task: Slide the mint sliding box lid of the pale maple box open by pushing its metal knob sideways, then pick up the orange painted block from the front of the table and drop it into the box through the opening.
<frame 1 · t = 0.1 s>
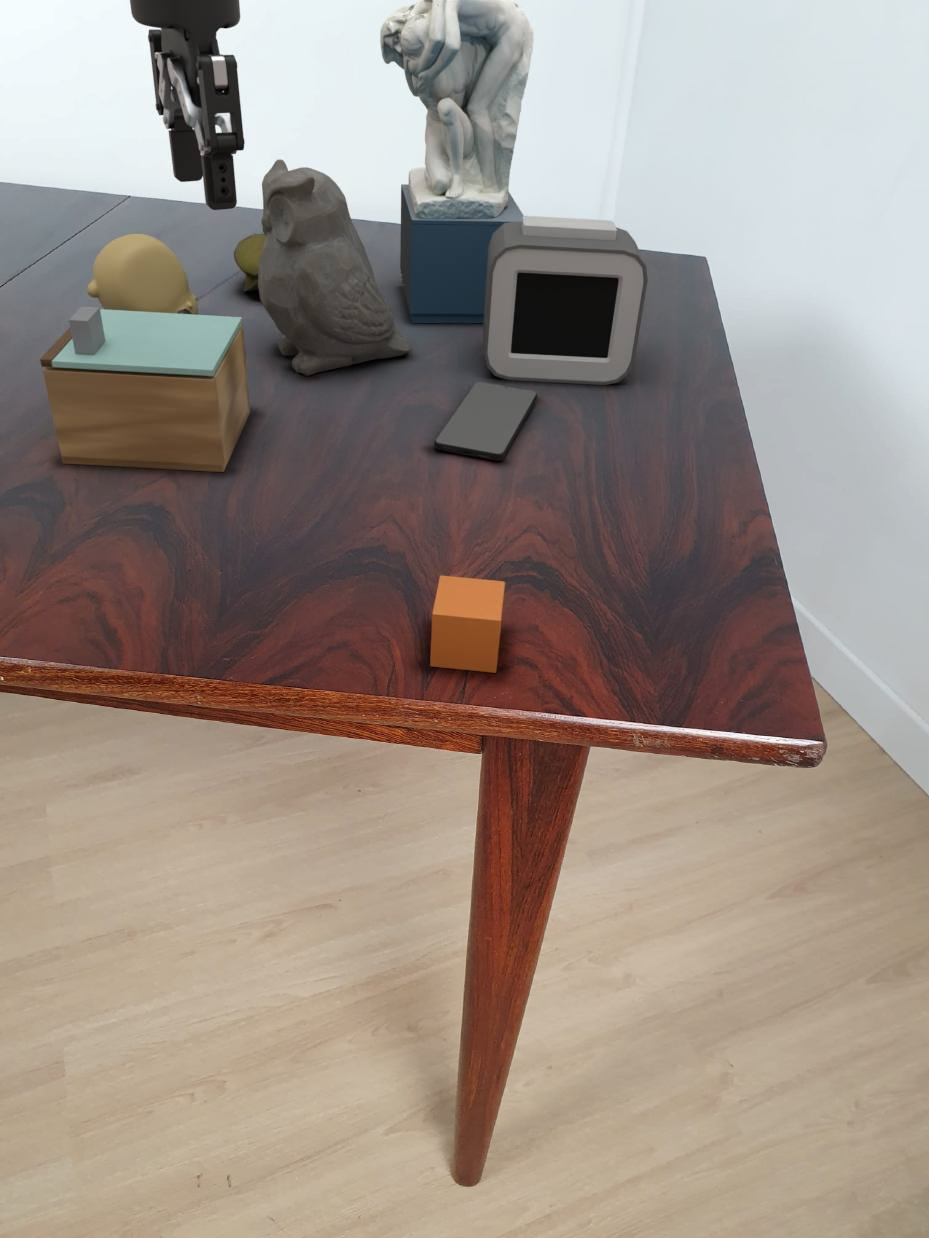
hand: (204, 194, 77), 23 cm above the table, tool pointing down, fingers open, 8 cm apart
figurine: (336, 356, 110), on the table
toy pig: (150, 331, 114), on the table
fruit: (271, 288, 127), on the table
sculpture: (446, 303, 126), on the table
smartphone: (487, 425, 98), on the table
block: (466, 649, 70), on the table
alarm clock: (552, 363, 112), on the table
maple box: (161, 436, 93), on the table
mint sliding box lid: (144, 324, 86), point 11 cm above the table, slide at 0.0 cm
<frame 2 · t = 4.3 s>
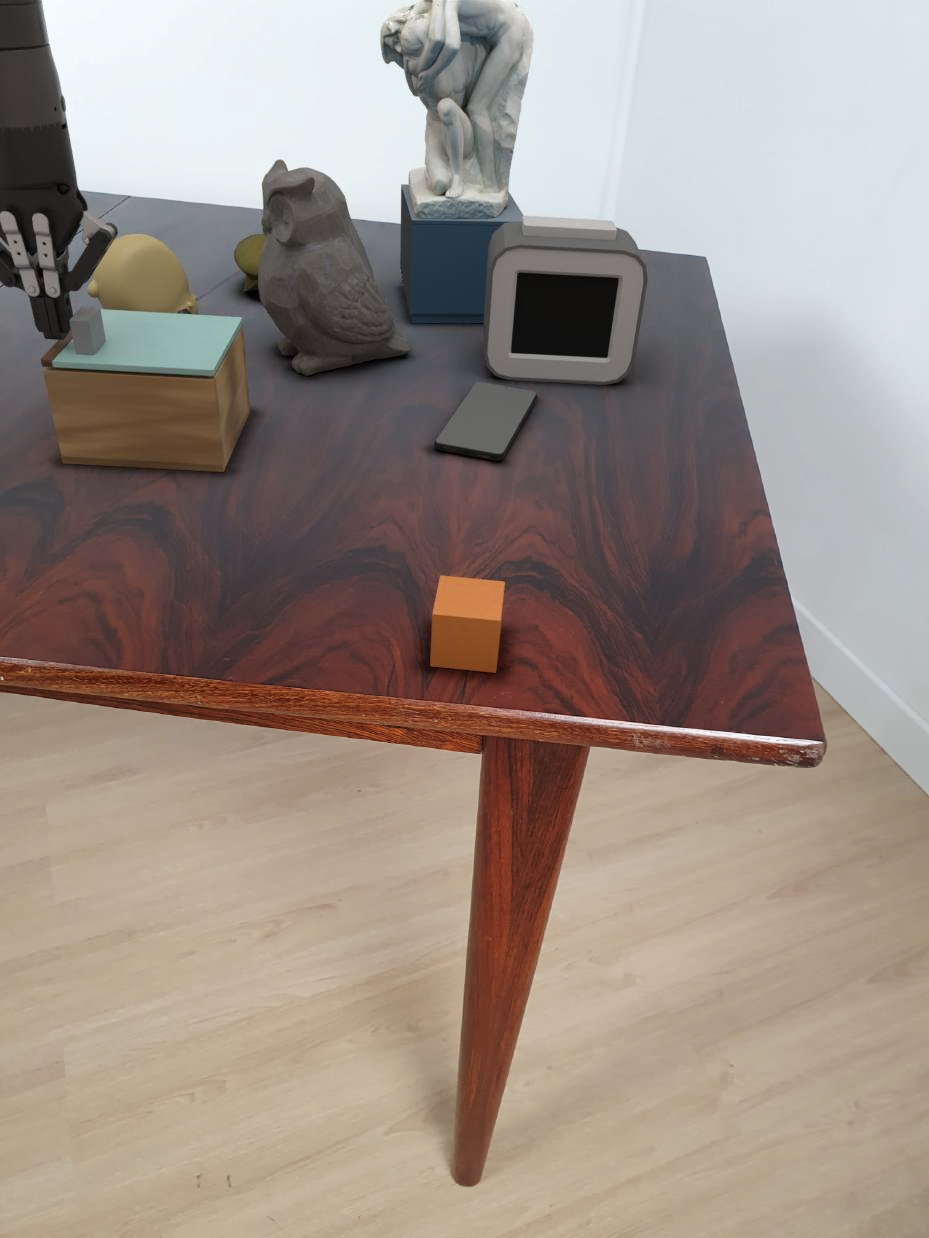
hand: (58, 336, 84), 11 cm above the table, tool pointing down, fingers closed
mint sliding box lid: (145, 324, 86), point 11 cm above the table, slide at 0.1 cm, touching gripper
everything else where it was.
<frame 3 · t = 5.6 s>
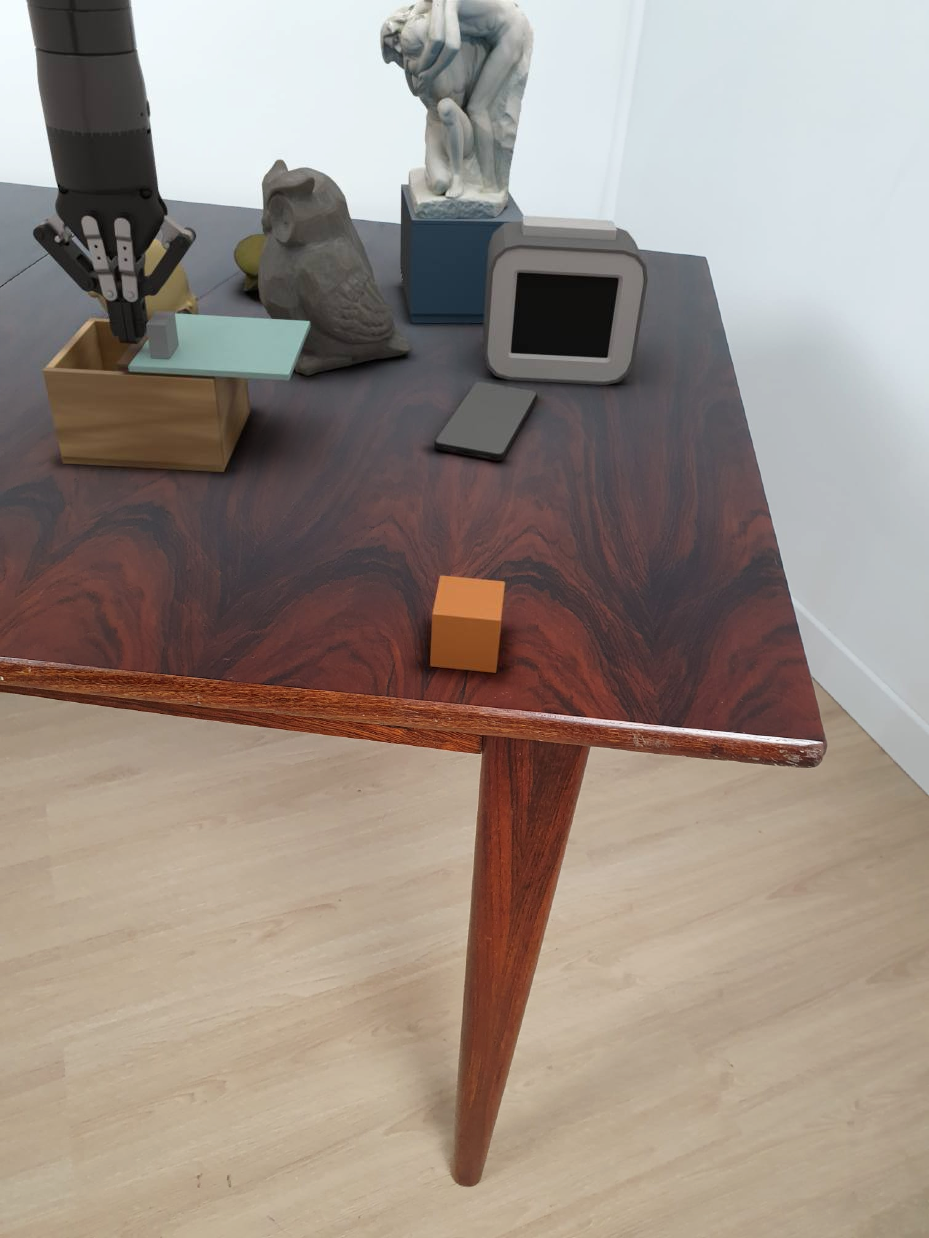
hand: (132, 340, 84), 11 cm above the table, tool pointing down, fingers closed
mint sliding box lid: (217, 328, 86), point 11 cm above the table, slide at 6.4 cm, touching gripper
everything else where it was.
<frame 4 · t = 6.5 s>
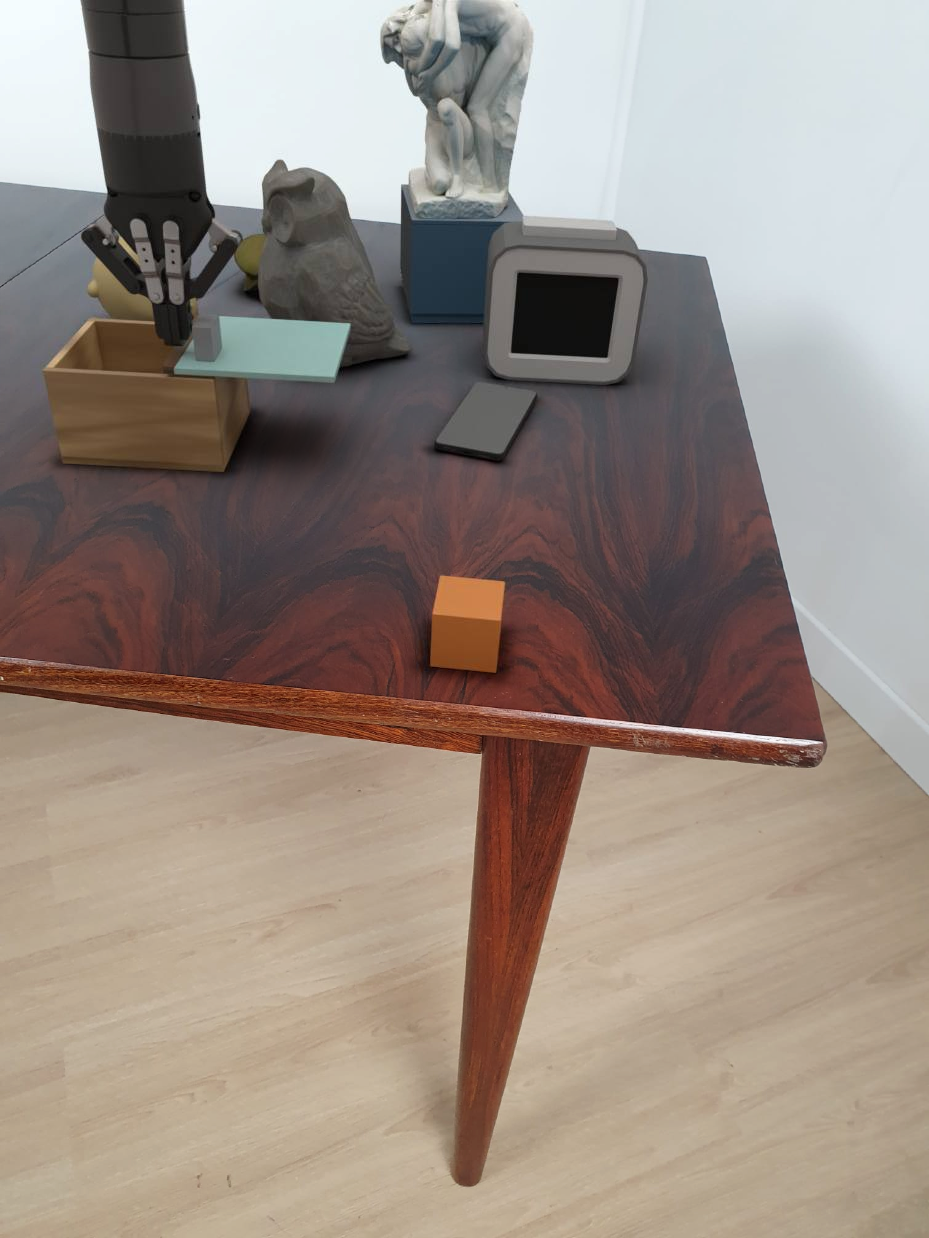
hand: (176, 342, 84), 11 cm above the table, tool pointing down, fingers closed
mint sliding box lid: (261, 330, 86), point 11 cm above the table, slide at 10.2 cm, touching gripper
everything else where it was.
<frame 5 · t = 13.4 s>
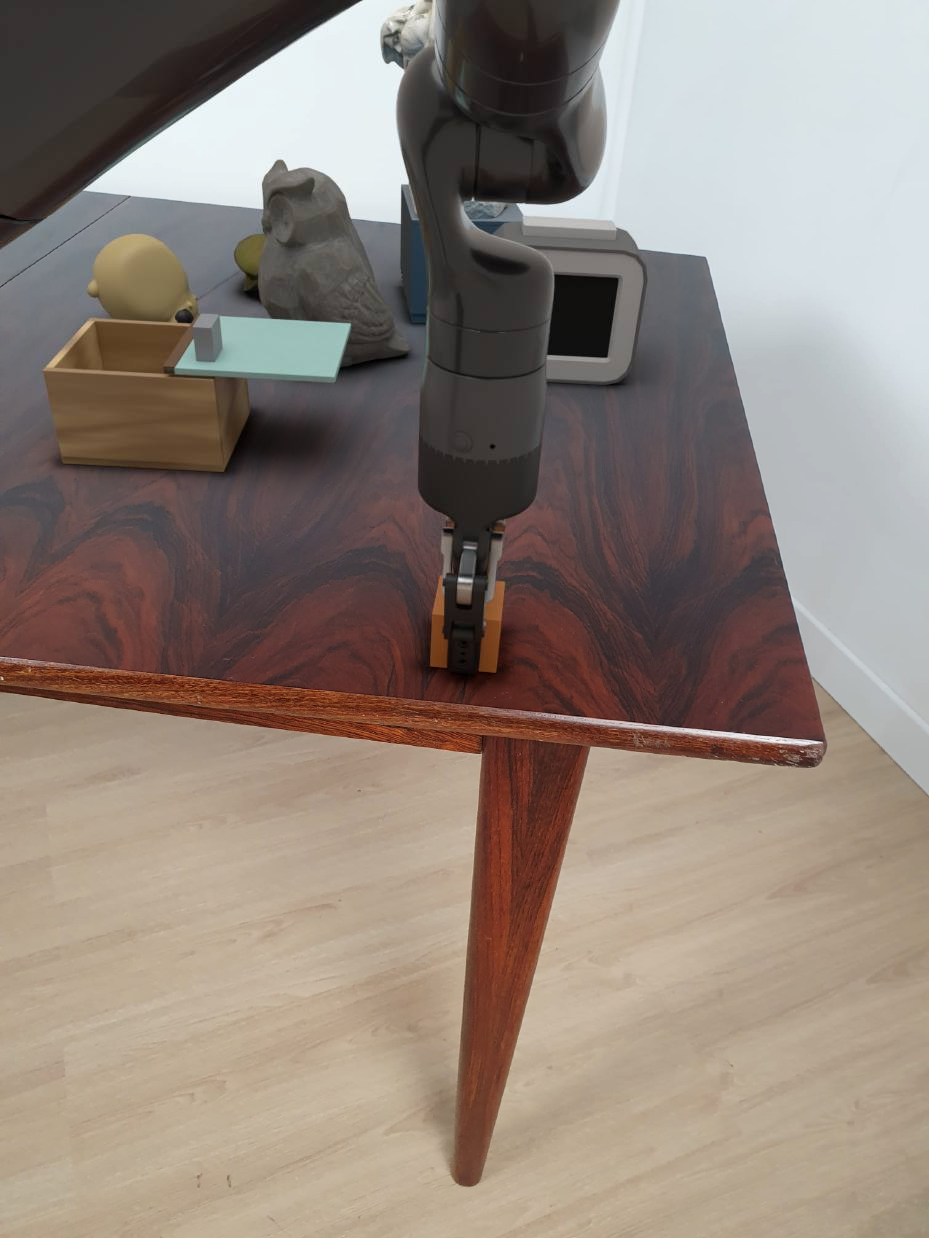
hand: (466, 645, 69), 0 cm above the table, tool pointing down, fingers closed on block, 4 cm apart
block: (466, 649, 70), on the table, touching gripper
mint sliding box lid: (261, 330, 86), point 11 cm above the table, slide at 10.2 cm
everything else where it was.
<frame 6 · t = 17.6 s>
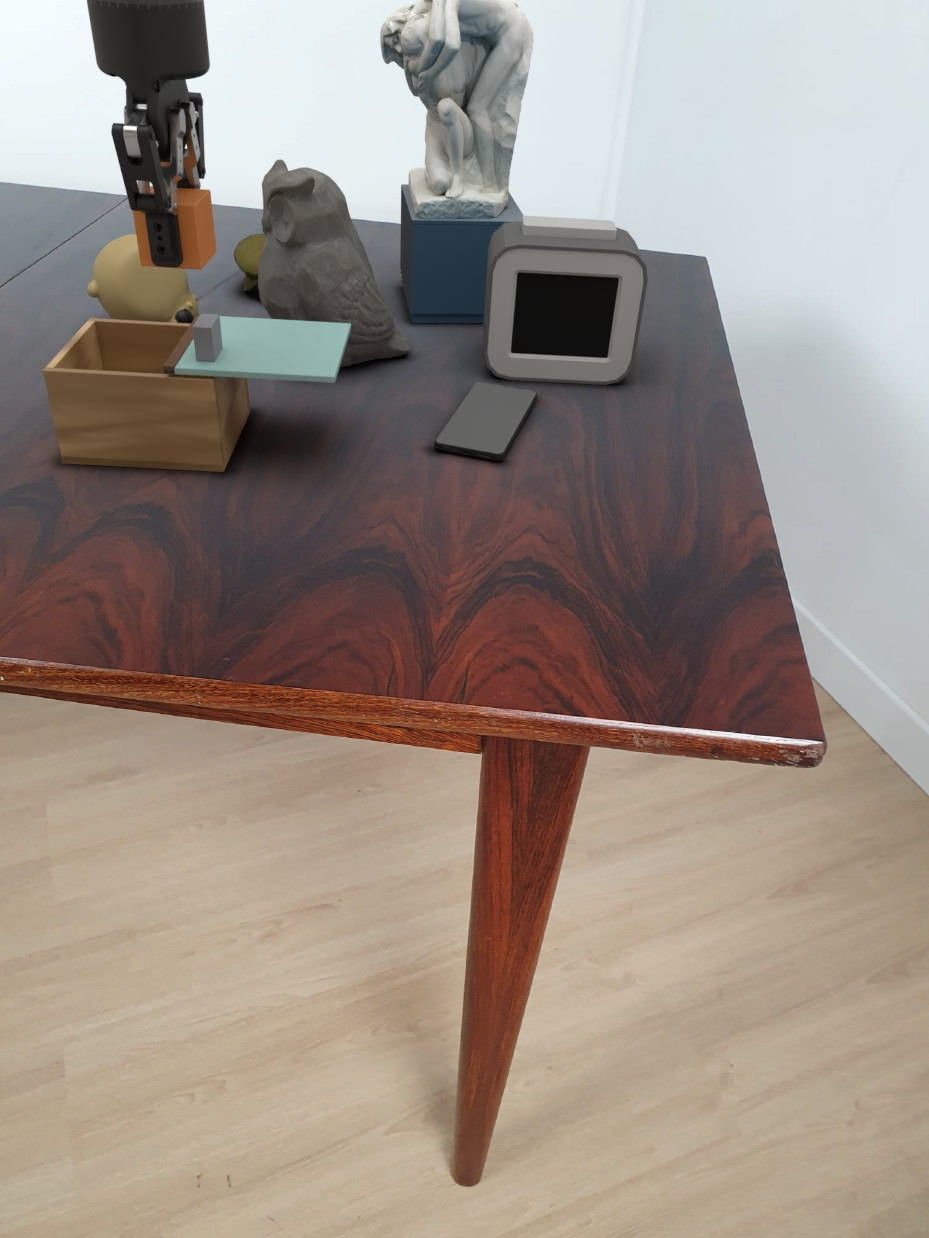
hand: (178, 253, 75), 20 cm above the table, tool pointing down, fingers closed on block, 4 cm apart
block: (179, 258, 75), point 19 cm above the table, touching gripper
everything else where it was.
when the fingers open (6 cm above the table, at t = 22.1 s): block stays where it is, point 5 cm above the table.
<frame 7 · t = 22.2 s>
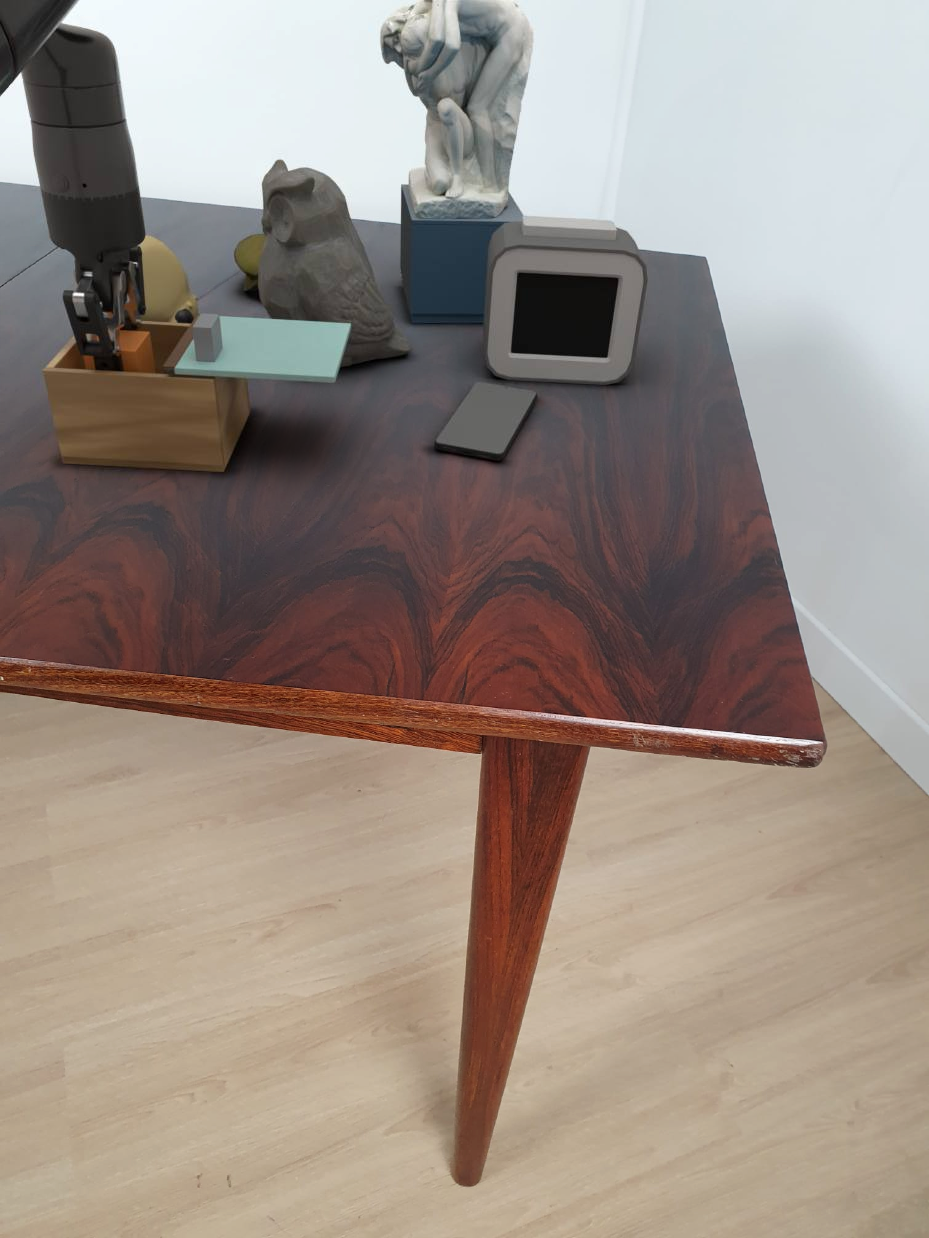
hand: (122, 380, 88), 6 cm above the table, tool pointing down, fingers open, 4 cm apart
block: (124, 388, 89), point 5 cm above the table
everything else where it was.
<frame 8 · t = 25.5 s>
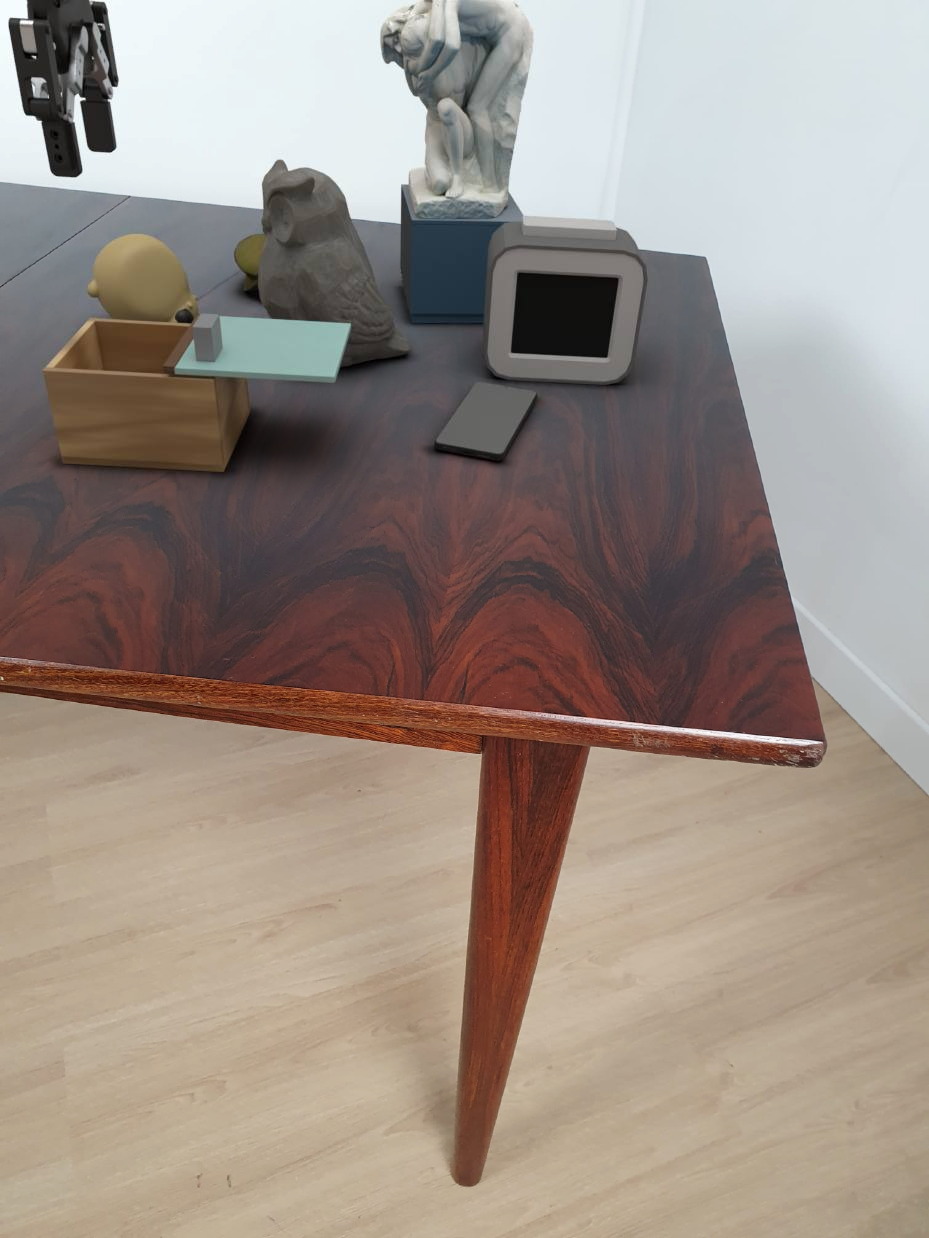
hand: (86, 163, 77), 24 cm above the table, tool pointing down, fingers open, 8 cm apart
block: (132, 431, 91), point 1 cm above the table, touching maple box
everything else where it was.
at the end: mint sliding box lid slide at 10.2 cm; block inside the target area on the maple box (0.7 cm from its centre), point 0.8 cm above the maple box's base; the gripper is holding nothing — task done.
